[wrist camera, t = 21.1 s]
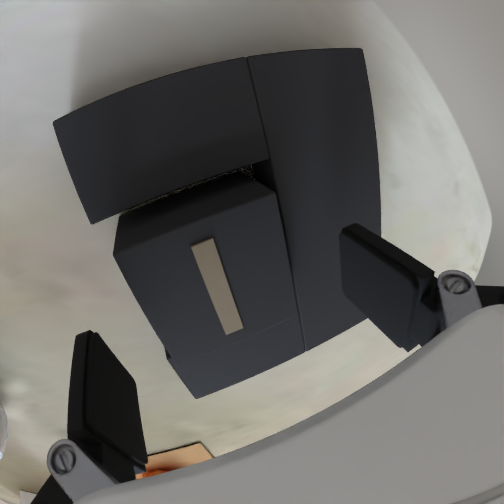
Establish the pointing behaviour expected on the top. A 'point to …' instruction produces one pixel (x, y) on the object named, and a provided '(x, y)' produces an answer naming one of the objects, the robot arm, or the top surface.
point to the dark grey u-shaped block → (265, 168)
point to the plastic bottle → (3, 430)
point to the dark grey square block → (208, 265)
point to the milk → (26, 497)
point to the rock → (174, 460)
